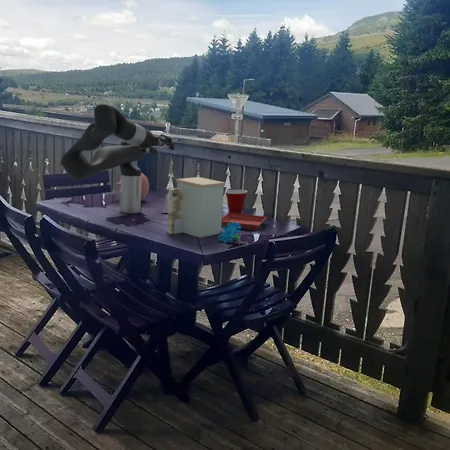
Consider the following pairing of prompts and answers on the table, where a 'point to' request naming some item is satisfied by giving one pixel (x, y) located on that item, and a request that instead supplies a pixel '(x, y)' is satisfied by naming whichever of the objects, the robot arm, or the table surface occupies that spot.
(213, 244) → the table surface
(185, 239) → the table surface
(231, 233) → the gear
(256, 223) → the plant saucer
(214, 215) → the cabinet
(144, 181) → the balloon
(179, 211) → the tall wooden plank
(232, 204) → the plastic cup
